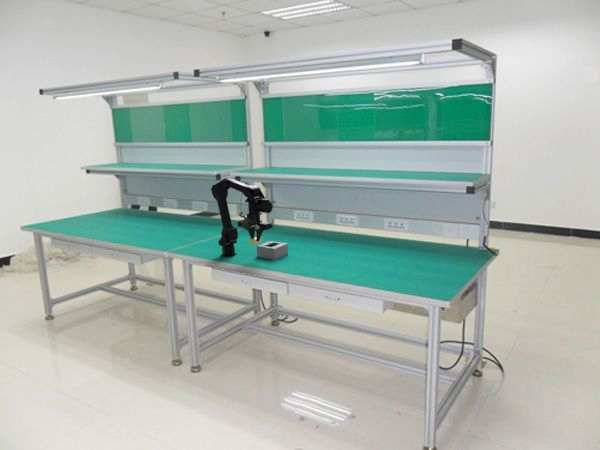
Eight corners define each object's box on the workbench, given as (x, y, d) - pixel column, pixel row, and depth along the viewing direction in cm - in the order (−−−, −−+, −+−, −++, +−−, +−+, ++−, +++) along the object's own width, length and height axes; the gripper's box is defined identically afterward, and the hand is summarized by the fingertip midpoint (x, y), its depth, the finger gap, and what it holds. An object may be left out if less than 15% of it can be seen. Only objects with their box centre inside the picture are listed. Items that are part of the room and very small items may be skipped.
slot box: (257, 256, 248) (256, 245, 247) (270, 251, 258) (270, 240, 257) (275, 259, 242) (274, 248, 241) (288, 254, 252) (287, 243, 250)
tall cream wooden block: (249, 243, 236) (249, 239, 236) (257, 241, 241) (256, 236, 241) (254, 244, 235) (253, 239, 234) (261, 242, 240) (261, 237, 239)
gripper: (229, 212, 233) (231, 242, 236) (258, 215, 223) (260, 246, 226) (243, 208, 242) (245, 237, 245) (272, 211, 232) (273, 241, 235)
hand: (255, 240), depth 238 cm, fingers closed on tall cream wooden block, 3 cm apart
